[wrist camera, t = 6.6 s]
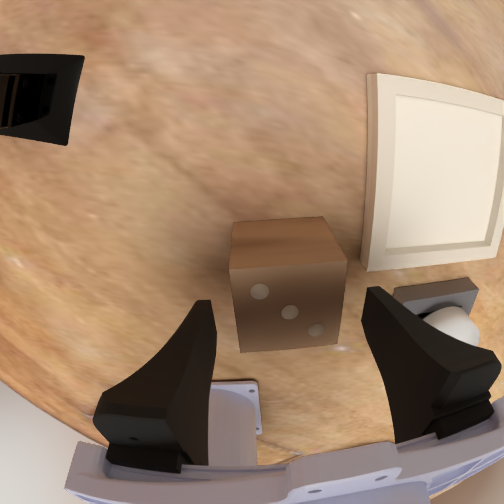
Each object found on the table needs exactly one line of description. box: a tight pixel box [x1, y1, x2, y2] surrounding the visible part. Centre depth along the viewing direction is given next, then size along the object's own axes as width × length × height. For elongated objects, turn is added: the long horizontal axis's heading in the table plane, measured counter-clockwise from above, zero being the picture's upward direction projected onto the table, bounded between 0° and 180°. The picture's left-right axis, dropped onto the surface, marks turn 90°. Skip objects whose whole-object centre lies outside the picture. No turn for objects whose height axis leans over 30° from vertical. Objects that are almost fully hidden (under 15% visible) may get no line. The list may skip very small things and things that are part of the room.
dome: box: [421, 306, 480, 346], centre depth 18 cm, size 6×6×5 cm
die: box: [229, 216, 348, 353], centre depth 16 cm, size 5×5×5 cm
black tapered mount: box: [0, 54, 85, 146], centre depth 11 cm, size 12×7×5 cm, turn 72°
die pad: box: [360, 73, 504, 272], centre depth 15 cm, size 11×11×1 cm
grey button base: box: [393, 278, 479, 318], centre depth 20 cm, size 7×7×2 cm
